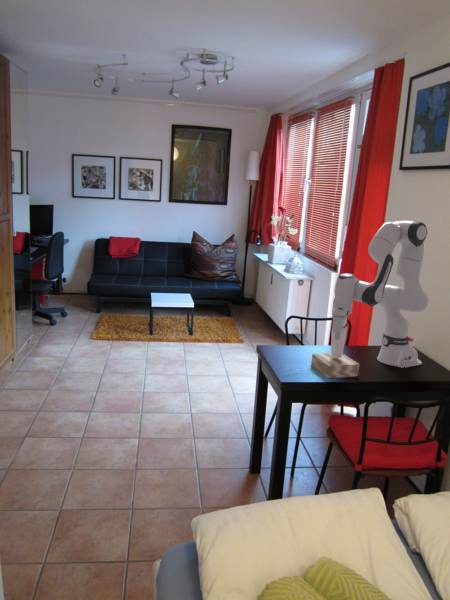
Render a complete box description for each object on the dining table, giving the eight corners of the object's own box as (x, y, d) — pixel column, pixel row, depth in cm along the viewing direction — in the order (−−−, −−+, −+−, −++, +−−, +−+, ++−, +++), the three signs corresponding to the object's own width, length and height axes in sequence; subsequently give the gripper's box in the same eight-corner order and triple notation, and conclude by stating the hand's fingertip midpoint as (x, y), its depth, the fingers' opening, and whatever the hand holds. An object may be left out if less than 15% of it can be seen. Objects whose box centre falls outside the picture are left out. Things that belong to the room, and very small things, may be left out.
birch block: (339, 363, 252) (341, 352, 251) (357, 376, 238) (359, 364, 236) (311, 365, 247) (312, 353, 246) (327, 378, 232) (329, 366, 231)
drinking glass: (343, 359, 237) (347, 329, 233) (329, 358, 238) (332, 327, 234) (343, 355, 243) (346, 325, 240) (329, 353, 245) (332, 323, 241)
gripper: (338, 302, 246) (335, 330, 249) (331, 312, 227) (328, 341, 230) (352, 304, 243) (348, 332, 247) (345, 314, 225) (342, 344, 228)
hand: (338, 336), depth 238 cm, fingers closed on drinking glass, 7 cm apart
